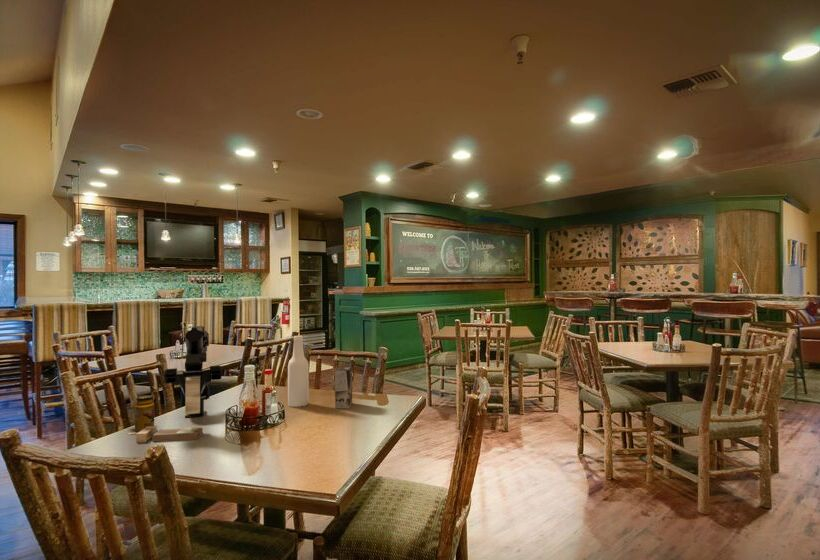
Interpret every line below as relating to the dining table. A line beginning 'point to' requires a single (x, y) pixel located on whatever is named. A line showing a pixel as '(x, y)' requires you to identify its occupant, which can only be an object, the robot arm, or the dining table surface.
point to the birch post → (192, 395)
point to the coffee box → (343, 387)
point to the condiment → (143, 413)
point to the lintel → (145, 434)
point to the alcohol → (298, 376)
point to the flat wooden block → (177, 434)
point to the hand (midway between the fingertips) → (192, 394)
